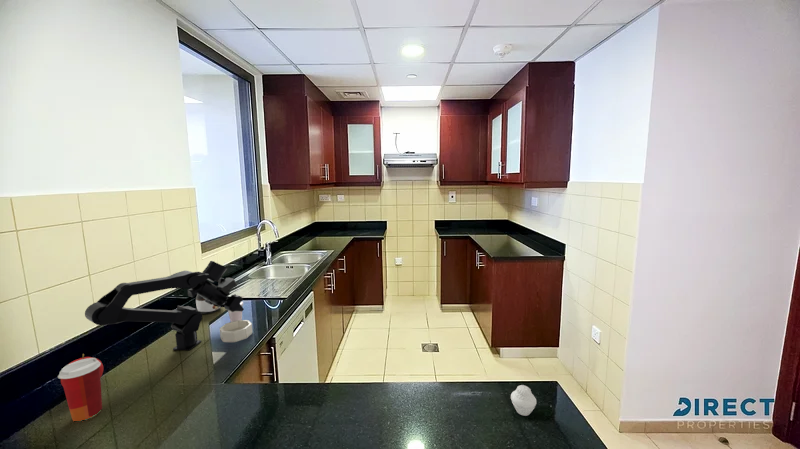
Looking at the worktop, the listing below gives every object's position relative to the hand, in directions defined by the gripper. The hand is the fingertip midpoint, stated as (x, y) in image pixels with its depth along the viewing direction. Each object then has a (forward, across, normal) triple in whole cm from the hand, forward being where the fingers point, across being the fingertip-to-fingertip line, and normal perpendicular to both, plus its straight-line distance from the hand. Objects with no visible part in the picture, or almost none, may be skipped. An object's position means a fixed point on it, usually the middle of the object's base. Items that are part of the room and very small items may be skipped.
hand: (238, 308), depth 134 cm
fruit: (-29, +1, +39) cm, 49 cm away
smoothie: (+4, 0, +6) cm, 7 cm away
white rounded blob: (+10, -114, +1) cm, 114 cm away
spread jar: (+7, +28, +3) cm, 29 cm away
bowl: (0, -8, +10) cm, 13 cm away
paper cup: (-32, -16, +42) cm, 55 cm away
